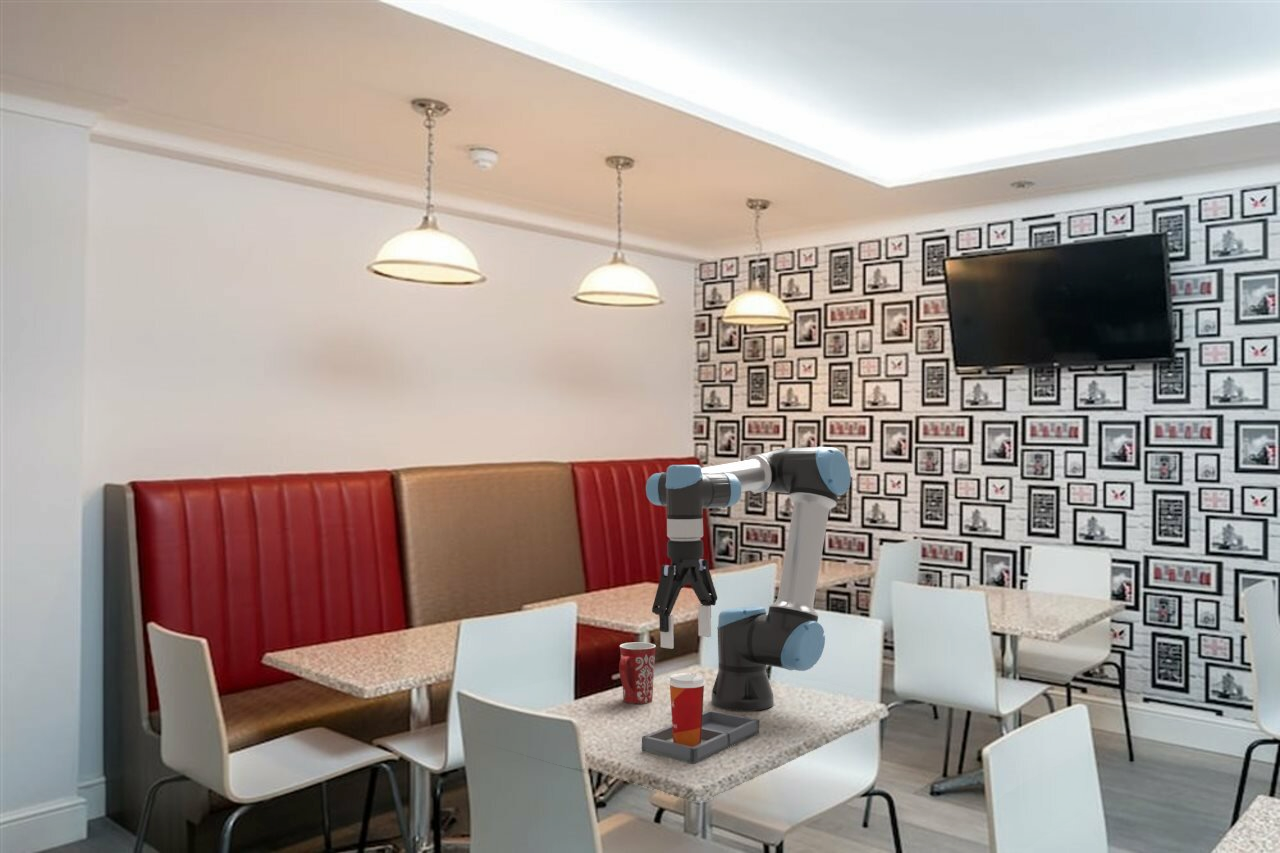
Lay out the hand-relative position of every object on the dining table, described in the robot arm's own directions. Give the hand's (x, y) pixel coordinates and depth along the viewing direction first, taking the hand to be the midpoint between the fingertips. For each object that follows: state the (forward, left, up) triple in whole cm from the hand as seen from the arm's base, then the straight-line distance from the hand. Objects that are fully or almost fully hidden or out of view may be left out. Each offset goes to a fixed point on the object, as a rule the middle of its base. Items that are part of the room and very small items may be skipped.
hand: (686, 642), depth 183 cm
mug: (-22, -31, -22) cm, 44 cm away
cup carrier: (-6, 0, -22) cm, 22 cm away
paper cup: (0, 0, -21) cm, 21 cm away
